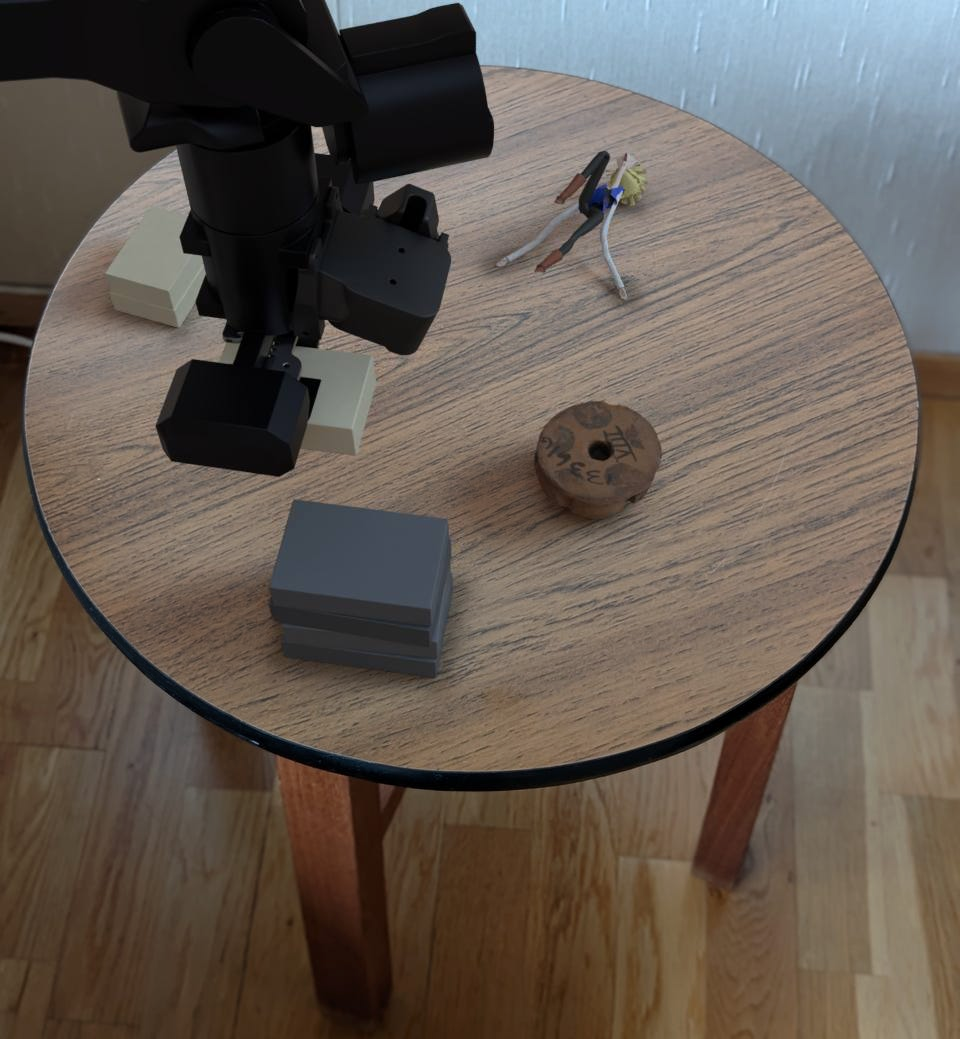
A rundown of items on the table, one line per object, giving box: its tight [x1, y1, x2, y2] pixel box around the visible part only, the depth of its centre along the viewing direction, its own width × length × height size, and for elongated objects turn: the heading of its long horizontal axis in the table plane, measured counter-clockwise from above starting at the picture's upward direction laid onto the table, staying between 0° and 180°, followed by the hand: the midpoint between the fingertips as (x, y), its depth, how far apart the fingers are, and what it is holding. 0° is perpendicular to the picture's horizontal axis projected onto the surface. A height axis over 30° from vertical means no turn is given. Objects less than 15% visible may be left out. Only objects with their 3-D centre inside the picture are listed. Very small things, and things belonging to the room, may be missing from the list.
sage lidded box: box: [104, 205, 206, 329], centre depth 92 cm, size 7×5×4 cm
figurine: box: [495, 150, 673, 301], centre depth 93 cm, size 10×9×20 cm
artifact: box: [533, 400, 663, 521], centre depth 82 cm, size 8×8×5 cm
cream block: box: [218, 342, 377, 457], centre depth 71 cm, size 8×5×2 cm, turn 80°
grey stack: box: [268, 498, 454, 679], centre depth 76 cm, size 9×6×8 cm
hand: (292, 408), depth 72 cm, fingers closed on cream block, 5 cm apart
